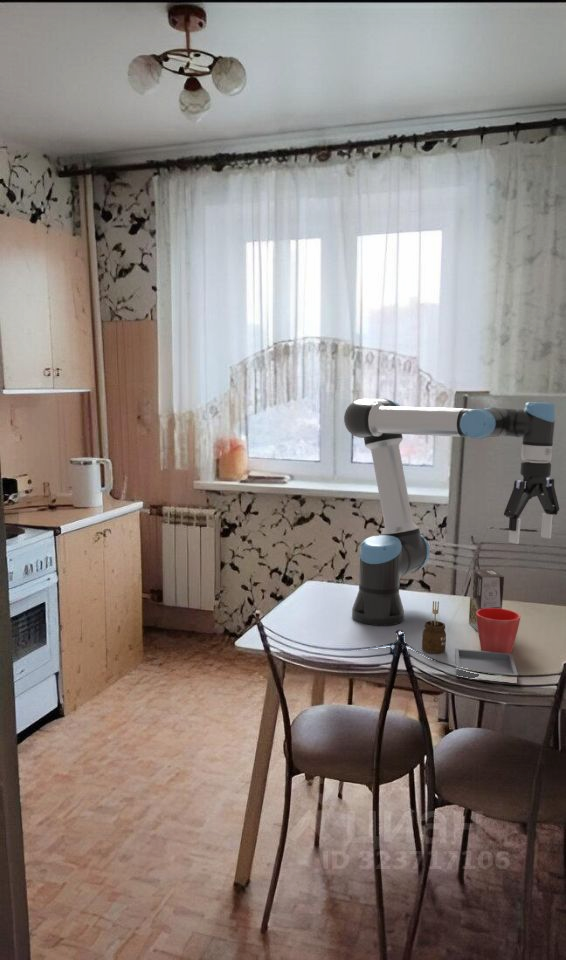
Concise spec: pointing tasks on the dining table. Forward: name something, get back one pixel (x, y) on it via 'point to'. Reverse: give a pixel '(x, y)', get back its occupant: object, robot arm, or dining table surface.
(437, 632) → the utensil holder
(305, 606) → the dining table surface
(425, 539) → the robot arm
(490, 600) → the coffee box
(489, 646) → the flower pot
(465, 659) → the tray
